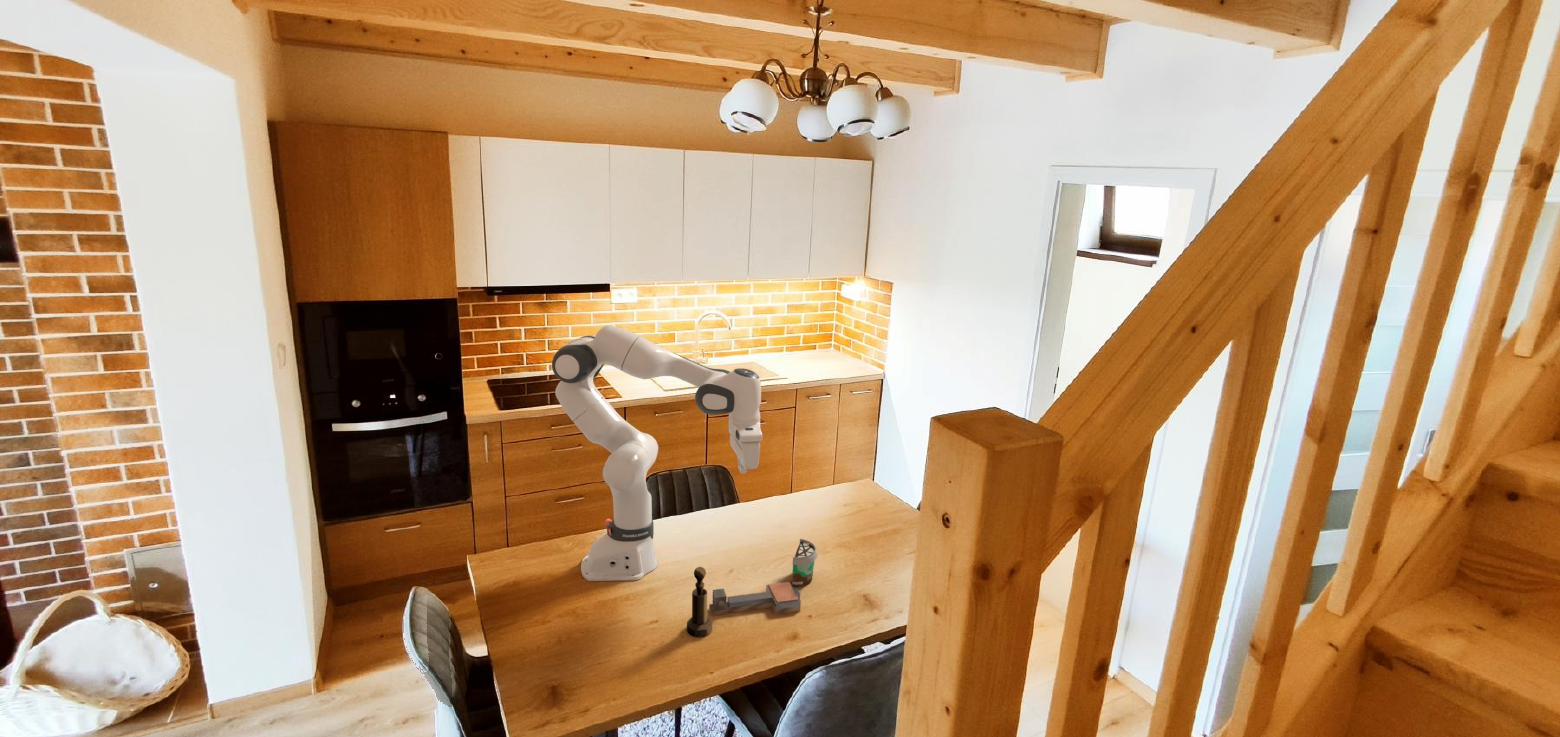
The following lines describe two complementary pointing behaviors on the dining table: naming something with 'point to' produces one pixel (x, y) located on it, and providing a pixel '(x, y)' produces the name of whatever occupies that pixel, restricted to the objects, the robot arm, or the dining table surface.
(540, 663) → the dining table surface
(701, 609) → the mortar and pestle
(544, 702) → the dining table surface
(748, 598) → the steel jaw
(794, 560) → the food container
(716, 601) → the walnut jaw
